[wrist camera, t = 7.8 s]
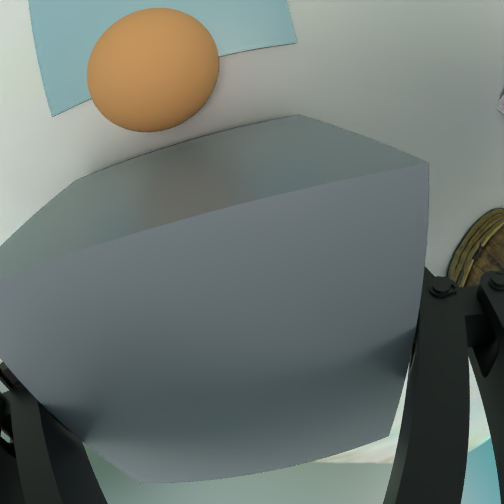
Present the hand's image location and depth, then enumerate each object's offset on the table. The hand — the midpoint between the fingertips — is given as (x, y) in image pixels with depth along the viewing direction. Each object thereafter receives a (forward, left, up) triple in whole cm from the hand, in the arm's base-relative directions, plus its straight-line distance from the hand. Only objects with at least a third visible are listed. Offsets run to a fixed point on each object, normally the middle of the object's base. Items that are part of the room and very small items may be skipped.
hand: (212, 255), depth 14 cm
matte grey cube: (0, 0, -1) cm, 1 cm away
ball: (0, -8, 0) cm, 8 cm away
